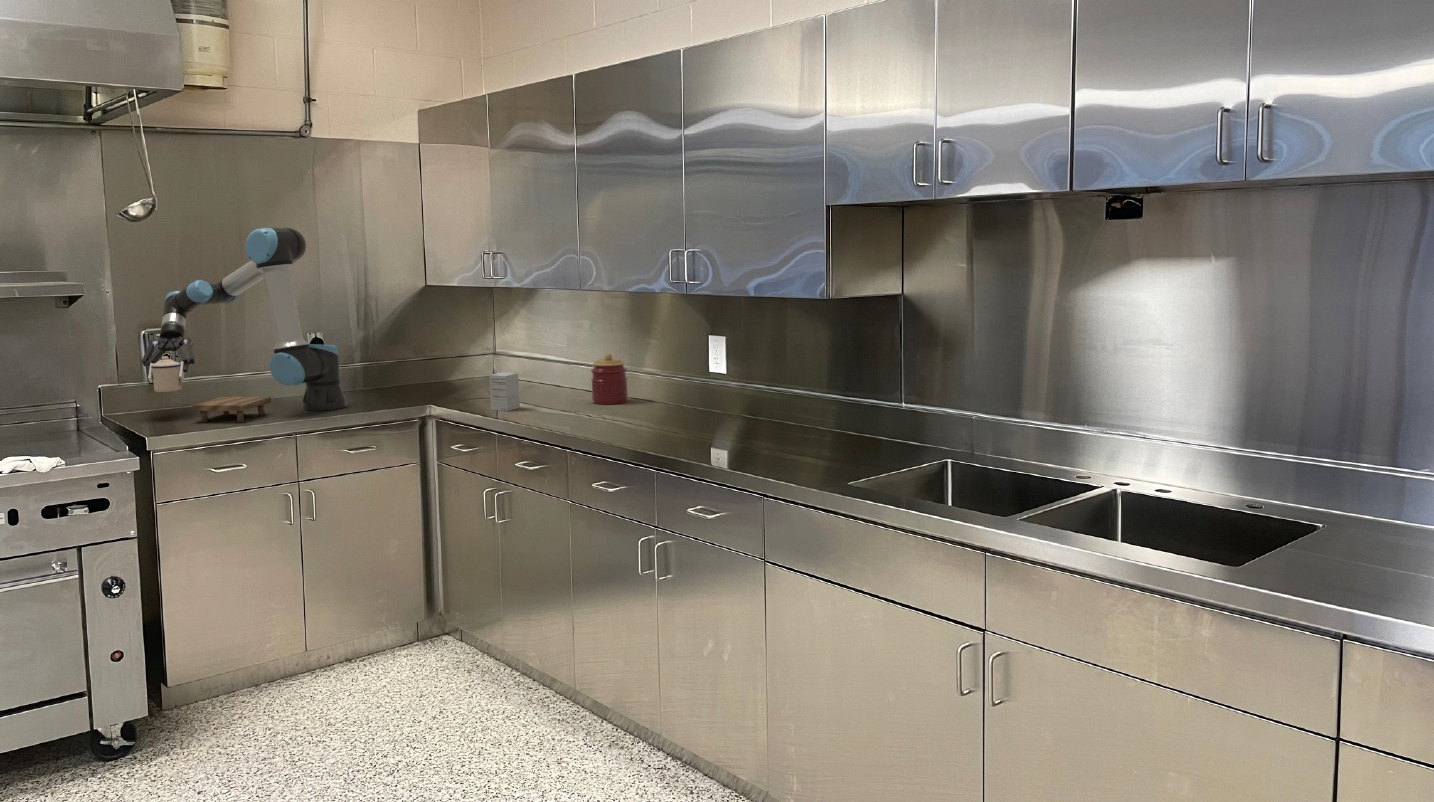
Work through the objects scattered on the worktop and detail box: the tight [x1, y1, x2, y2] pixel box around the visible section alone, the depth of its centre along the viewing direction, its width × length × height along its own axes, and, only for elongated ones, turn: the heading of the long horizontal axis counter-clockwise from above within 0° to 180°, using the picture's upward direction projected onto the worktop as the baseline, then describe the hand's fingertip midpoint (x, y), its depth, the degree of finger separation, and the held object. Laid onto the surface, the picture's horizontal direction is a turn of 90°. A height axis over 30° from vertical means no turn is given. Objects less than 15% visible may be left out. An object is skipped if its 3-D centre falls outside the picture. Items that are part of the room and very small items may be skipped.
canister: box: [590, 353, 629, 405], centre depth 384 cm, size 13×13×18 cm
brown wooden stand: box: [191, 396, 272, 423], centre depth 365 cm, size 18×18×6 cm
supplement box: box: [489, 371, 521, 412], centre depth 373 cm, size 7×7×13 cm
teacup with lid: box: [151, 355, 183, 393], centre depth 365 cm, size 12×9×12 cm
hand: (165, 379), depth 363 cm, fingers closed on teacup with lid, 9 cm apart
